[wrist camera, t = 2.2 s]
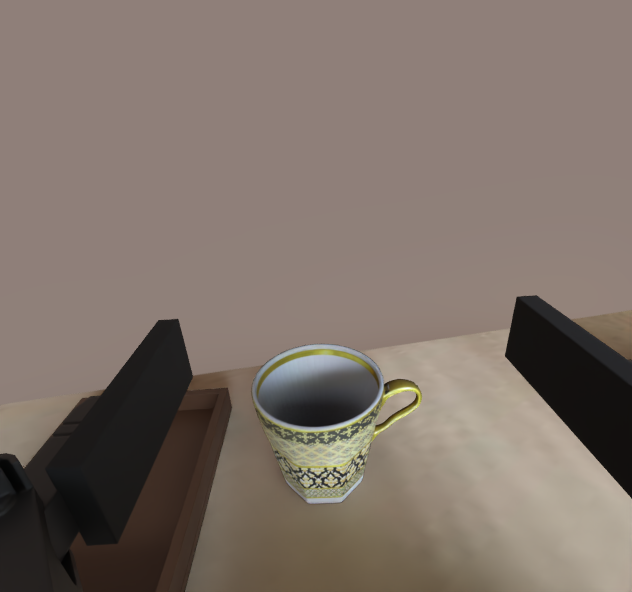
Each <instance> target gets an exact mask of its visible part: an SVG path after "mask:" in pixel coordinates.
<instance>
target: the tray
mask: <svg viewBox="0 0 632 592" xmlns="http://www.w3.org/2000/svg"><path fill="white" fill-rule="evenodd" d="M86 399H88V398H82V399H81V400H80V401H79V403H78V404H77V405H76V406H75V407H74V408H76V407H77V406H78V405H80V404H81V403H82V402H84V401H85V400H86ZM231 409H232V406H231V401H230V396H229V391H228V388H221V389H220V388H219V389H205V390H190V391H186V393H185V395H184V398H183V400H182V402H181V404H180V407H179V409H178V411H177V413H176V415H175V418H174V420H173V422H172V424H171V427H170V429H169V431H168V433H167V435H166V438H165V440H164V442H163V444H162V447H161V449H160V451H159V453H158V455H157V458H156V460H155V462H154V464H153V466H152V469H151V471H150V473H149V475H148V478H147V480H146V482H145V484H144V486H143V489H142V491H141V493H140V495H139V498H138V500H137V502H136V504H135V506H134V509H133V511H132V513H131V515H130V518H129V520H128V522H127V524H126V526H125V529H124V531H123V533H122V535H121V537H120V540H119V542H118V544H108V545H93V546H87V545H86V543H85V541H84V540H83V538H82V536H81V534H80V532H78V534H77V536H76V538H75V539H74V541H73V543H72V545H71V547H70V549H71V551H72V553H73V555H74V557H75V561H76V565H77V569H78V573H79V577H80V581H81V585H82V589H83V592H185V588H186V584H187V580H188V577H189V573H190V569H191V565H192V561H193V557H194V553H195V549H196V545H197V542H198V538H199V534H200V530H201V526H202V522H203V518H204V514H205V510H206V506H207V503H208V499H209V495H210V491H211V487H212V483H213V479H214V475H215V471H216V468H217V464H218V460H219V456H220V452H221V448H222V444H223V440H224V436H225V433H226V429H227V425H228V421H229V417H230V413H231ZM72 411H73V410H72ZM72 411H71V412H72ZM71 412H70V413H71ZM67 417H68V416H67ZM67 417H66V418H67ZM66 418H65V419H66ZM62 424H63V422H62V423H61V424H60V425H62ZM57 429H58V428H57ZM57 429H56V430H57ZM51 437H53V434H52V435H51ZM48 440H49V439H48ZM48 440H47V441H48ZM47 441H46V442H47ZM43 446H44V445H43ZM43 446H42V447H43ZM38 452H39V451H38ZM38 452H37V453H38ZM33 458H34V457H33ZM33 458H32V459H33ZM29 463H30V462H29ZM29 463H28V464H29ZM24 469H25V468H24Z"/></svg>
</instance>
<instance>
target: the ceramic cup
mask: <svg viewBox="0 0 632 592" xmlns="http://www.w3.org/2000/svg"><path fill="white" fill-rule="evenodd" d="M404 391H414V392H415V393H416V398H415V400H414V401H413V402H412V403H411V404H410V405H408V406H407V407H405V408H403V409H401V410H400V411H398V412H396V413H395V414H393V415H391V416H390V417H389V418H388V419H387V420H386V421H385V422H383V423H382V424H379V425H376V422H377V419H378V415H379V412H380V410H381V407H382V406H383V405H384V403H385V401H386V400H387V399H388V398H389V397H390V396H392V395H395V394H397V393H400V392H404ZM251 393H252V399H253V403H254V406H255V409H256V412H257V415H258V417H259V420H260V423H261V425H262V427H263V430H264V432H265V434H266V436H267V438H268V440H269V441H270V443H271V446H272V449H273V452H274V454H275V456H276V459H277V461H278V464H279V466H280V468H281V471H282V473H283V476H284V478H285V480H286V483H287V484H288V485H289V486H290V487H291V488H292V489H293V490H294V491H295V492H296V493H297V494H299V495H300V496H301V497H302V498H303V499H304V500H305V501H306V502H307V503H309V504H317V503H340V502H342V501H343V500H344V499H345V498H346V497H347V496H348V495H349V494H350V493H351V492H352V491H353V490H354V489H355V488H356V487H357V486H358V484H359V483H360V482H361V481H362V479H363V474H364V469H365V465H366V461H367V457H368V453H369V449H370V445H371V442H372V441H373V440H374V438H375V437H376V436H377V435H378V434H379V433H380V432H382V431H384V430H386V429H387V428H388V427H389V426H390V425H392V424H393V423H394V422H395V421H397V420H399V419H400V418H402V417H404V416H406V415H407V414H409V413H411V412H412V411H414V410H415V409H416V408H417V407H418V406H419V404H420V403H421V400H422V394H421V391H420V389H419V388H418V386H417V385H416V384H415V383H414V382H412V381H409V380H404V379H396V380H392V381H389V382H387V383H385V384H384V379H383V375H382V373H381V371H380V369H379V367H378V366H377V365H376V363H375V362H374V361H373V360H371V359H370V358H369V357H368V356H366V355H364V354H363V353H361V352H359V351H357V350H354V349H351V348H348V347H345V346H340V345H333V344H312V345H304V346H300V347H296V348H293V349H290V350H287V351H284V352H282V353H280V354H278V355H277V356H275V357H273V358H272V359H270V360H269V361H268V362H266V363H265V364H264V365H263V366H262V367H261V368H260V370H259V371H258V372H257V374H256V376H255V378H254V380H253V383H252V392H251Z"/></svg>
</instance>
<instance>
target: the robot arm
mask: <svg viewBox="0 0 632 592" xmlns="http://www.w3.org/2000/svg"><path fill="white" fill-rule="evenodd" d="M505 357H506V358H507V359H508V360H509V361H510V362H511V363H512V365H513V366H514V367H515V368H516V369H517V370H518V371H519V372H520V373H521V375H522V376H523V377H524V378H525V379H526V380H527V381H528V382H529V384H530V385H531V386H532V387H533V388H534V389H535V390H536V391H537V393H538V394H539V395H540V396H541V397H542V398H543V399H544V400H545V402H546V403H547V404H548V405H549V406H550V407H551V408H552V409H553V411H554V412H555V413H556V414H557V415H558V416H559V417H560V418H561V419H562V421H563V422H564V423H565V424H566V425H567V426H568V427H569V428H570V430H571V431H572V432H573V433H574V434H575V435H576V436H577V437H578V439H579V440H580V441H581V442H582V443H583V444H584V445H585V446H586V448H587V449H588V450H589V451H590V452H591V453H592V454H593V455H594V456H595V458H596V459H597V460H598V461H599V462H600V463H601V464H602V465H603V467H604V468H605V469H606V470H607V471H608V472H609V473H610V474H611V476H612V477H613V478H614V479H615V480H616V481H617V482H618V483H619V485H620V486H621V487H622V488H623V489H624V490H625V491H626V492H627V494H628V495H629V496H630V497H631V498H632V360H627V359H625V358H624V357H623V356H621V355H620V354H618V353H617V352H616V351H614V350H613V349H611V348H610V347H608V346H607V345H606V344H604V343H603V342H601V341H600V340H599V339H597V338H596V337H594V336H593V335H592V334H590V333H589V332H587V331H586V330H585V329H583V328H582V327H580V326H579V325H577V324H576V323H575V322H573V321H572V320H570V319H569V318H568V317H566V316H565V315H563V314H562V313H561V312H559V311H558V310H556V309H555V308H553V307H552V306H551V305H549V304H548V303H546V302H545V301H543V300H542V299H540V298H539V297H538V296H521V297H517V298H516V304H515V309H514V313H513V319H512V323H511V328H510V333H509V338H508V343H507V348H506V353H505ZM192 378H193V375H192V371H191V367H190V363H189V359H188V355H187V351H186V347H185V343H184V339H183V336H182V332H181V328H180V324H179V320H178V319H172V320H158V322H157V323H156V324H155V326H154V327H153V328H152V330H151V331H150V332H149V333H148V335H147V336H146V337H145V339H144V340H143V341H142V343H141V344H140V345H139V346H138V348H137V349H136V350H135V352H134V353H133V354H132V356H131V357H130V358H129V360H128V361H127V362H126V363H125V365H124V366H123V367H122V369H121V370H120V371H119V373H118V374H117V375H116V377H115V378H114V379H113V381H112V382H111V383H110V384H109V386H108V387H107V388H106V390H105V391H104V392H103V393H102V395H101V396H91V397H89V398H88V399H86V400H85V401H84V402H82V403H81V404H80V405H78V406H77V407H76V408H74V409H73V411H72V412H71V413H70V414H69V415H68V417H67V418H66V419H65V420H64V421H63V424H62V425H60V426H59V427H58V429H57V430H56V431H55V432H54V433H53V437H50V438H49V440H48V441H47V442H46V443H45V444H44V446H43V447H42V448H41V449H40V450H39V452H38V453H37V454H36V455H35V456H34V458H33V459H32V460H31V461H30V463H29V464H28V465H27V466H26V467H25V469H23V467H22V466H21V464H20V462H19V460H18V459H17V458H16V456H15V455H12V454H7V453H5V454H0V592H83V589H82V585H81V581H80V577H79V573H78V569H77V565H76V561H75V557H74V555H73V553H72V551H71V549H70V547H71V545H72V543H73V541H74V539H75V538H76V536H77V534H78V532H80V534H81V536H82V538H83V540H84V541H85V543H86V545H87V546H93V545H108V544H118V542H119V540H120V537H121V535H122V533H123V531H124V529H125V526H126V524H127V522H128V520H129V518H130V515H131V513H132V511H133V509H134V506H135V504H136V502H137V500H138V498H139V495H140V493H141V491H142V489H143V486H144V484H145V482H146V480H147V478H148V475H149V473H150V471H151V469H152V466H153V464H154V462H155V460H156V458H157V455H158V453H159V451H160V449H161V447H162V444H163V442H164V440H165V438H166V435H167V433H168V431H169V429H170V427H171V424H172V422H173V420H174V418H175V415H176V413H177V411H178V409H179V407H180V404H181V402H182V400H183V398H184V395H185V393H186V391H187V389H188V387H189V384H190V382H191V380H192Z"/></svg>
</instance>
